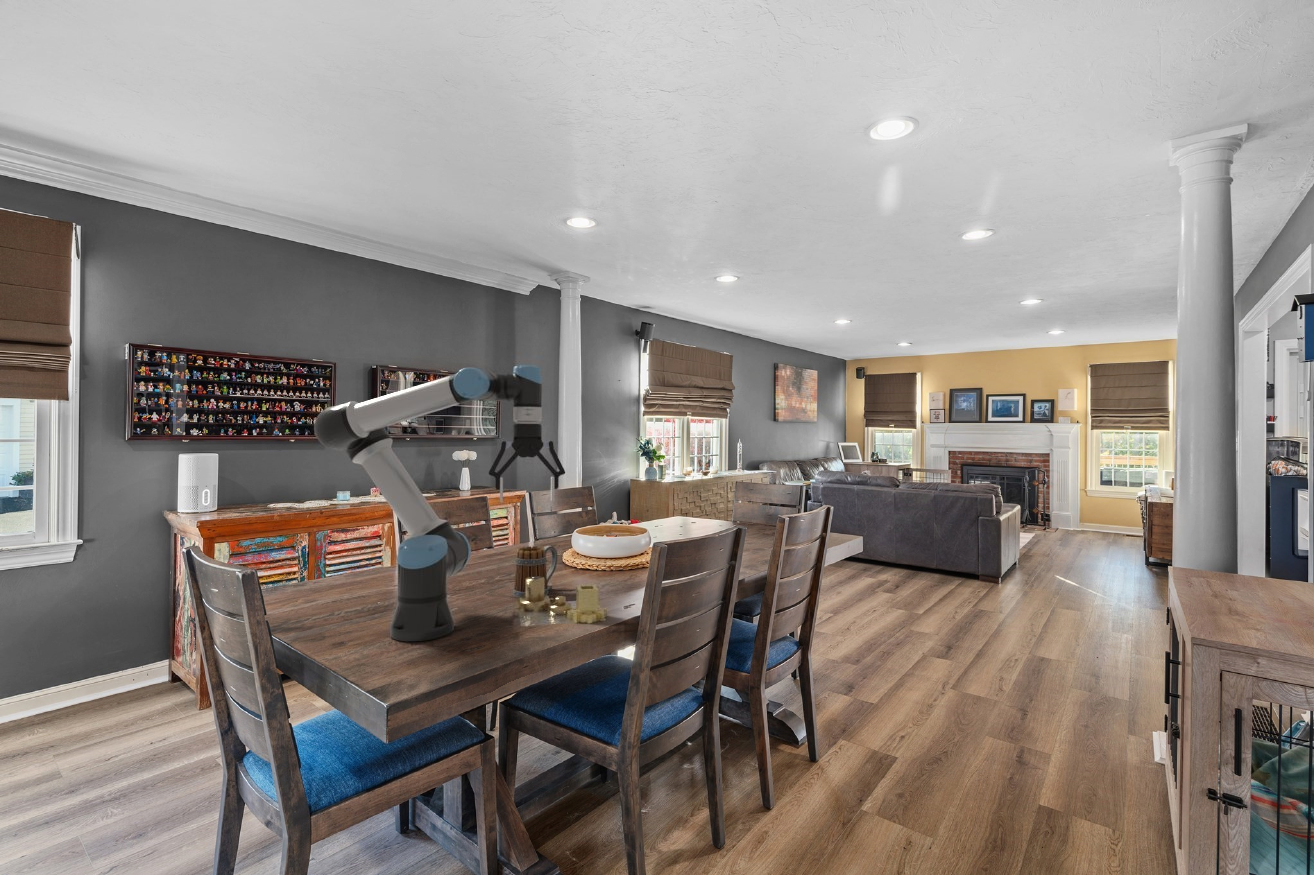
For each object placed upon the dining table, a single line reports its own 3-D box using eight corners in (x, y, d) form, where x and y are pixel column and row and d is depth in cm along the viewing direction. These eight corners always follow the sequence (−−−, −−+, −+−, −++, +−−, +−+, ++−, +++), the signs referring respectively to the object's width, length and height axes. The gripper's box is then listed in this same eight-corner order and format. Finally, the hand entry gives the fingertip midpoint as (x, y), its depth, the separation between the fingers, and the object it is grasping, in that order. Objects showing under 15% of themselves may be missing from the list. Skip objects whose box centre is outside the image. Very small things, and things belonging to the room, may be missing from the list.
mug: (529, 605, 179) (529, 553, 179) (505, 598, 185) (505, 549, 185) (567, 593, 191) (567, 546, 191) (544, 588, 198) (544, 542, 198)
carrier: (517, 631, 156) (517, 593, 156) (515, 607, 177) (515, 573, 177) (606, 624, 161) (606, 588, 161) (593, 602, 182) (594, 569, 182)
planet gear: (569, 625, 157) (569, 593, 157) (565, 613, 167) (565, 583, 167) (609, 622, 160) (609, 591, 160) (603, 610, 170) (603, 581, 170)
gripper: (479, 422, 160) (479, 503, 160) (575, 423, 166) (574, 501, 166) (480, 422, 167) (479, 500, 167) (572, 423, 173) (571, 498, 173)
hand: (527, 501), depth 167 cm, fingers open, 13 cm apart
